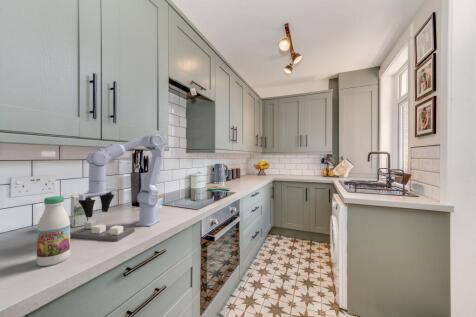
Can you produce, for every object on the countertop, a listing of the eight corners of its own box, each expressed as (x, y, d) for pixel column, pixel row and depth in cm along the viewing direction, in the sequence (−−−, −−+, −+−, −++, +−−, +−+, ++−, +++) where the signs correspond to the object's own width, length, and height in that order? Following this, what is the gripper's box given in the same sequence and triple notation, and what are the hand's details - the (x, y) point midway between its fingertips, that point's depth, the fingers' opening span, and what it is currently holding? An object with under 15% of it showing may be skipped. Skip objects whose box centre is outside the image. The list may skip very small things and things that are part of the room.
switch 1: (89, 225, 89) (90, 220, 89) (97, 226, 88) (97, 220, 88) (83, 228, 86) (83, 222, 86) (91, 228, 85) (91, 222, 85)
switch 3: (115, 231, 82) (115, 225, 82) (123, 232, 82) (123, 226, 82) (109, 234, 79) (109, 228, 79) (117, 234, 79) (117, 228, 79)
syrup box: (85, 222, 99) (85, 193, 99) (88, 225, 95) (88, 194, 95) (70, 225, 94) (70, 194, 94) (73, 228, 91) (73, 196, 90)
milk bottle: (36, 260, 63) (37, 196, 63) (68, 252, 68) (69, 193, 68) (36, 270, 57) (36, 200, 57) (71, 260, 63) (71, 197, 62)
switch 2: (98, 230, 83) (98, 224, 83) (105, 230, 83) (105, 224, 83) (91, 233, 80) (91, 226, 80) (99, 233, 80) (99, 227, 80)
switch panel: (90, 228, 90) (90, 225, 90) (134, 231, 87) (134, 228, 87) (68, 237, 80) (68, 233, 80) (117, 241, 77) (117, 237, 77)
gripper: (103, 178, 88) (103, 209, 88) (71, 182, 74) (71, 219, 74) (117, 179, 87) (117, 209, 87) (88, 183, 73) (87, 220, 73)
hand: (97, 214), depth 81 cm, fingers open, 7 cm apart
